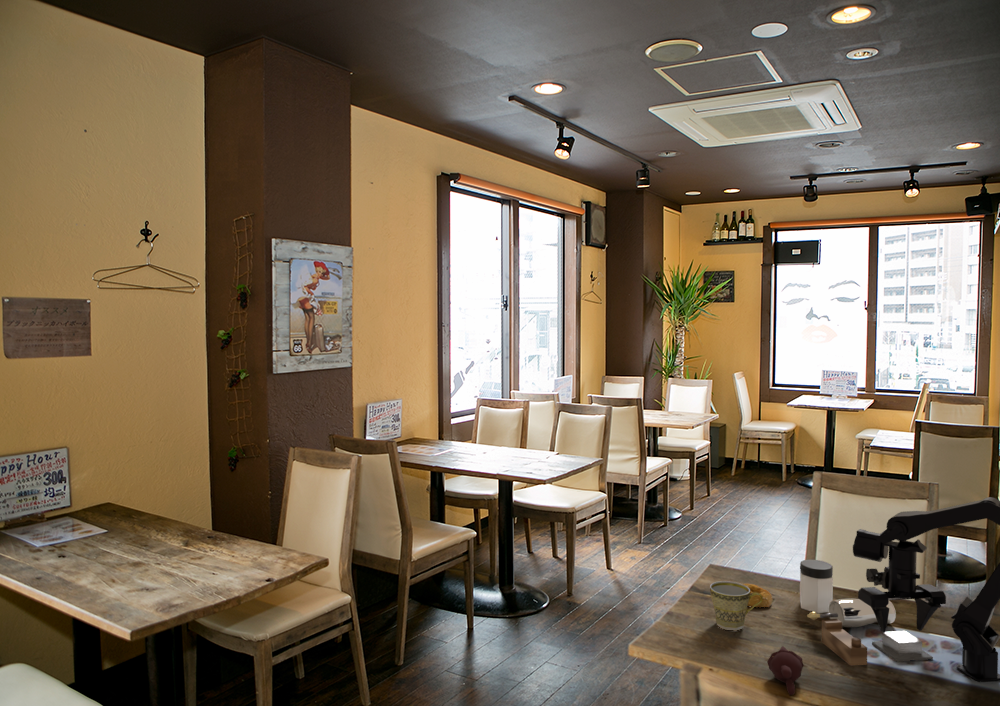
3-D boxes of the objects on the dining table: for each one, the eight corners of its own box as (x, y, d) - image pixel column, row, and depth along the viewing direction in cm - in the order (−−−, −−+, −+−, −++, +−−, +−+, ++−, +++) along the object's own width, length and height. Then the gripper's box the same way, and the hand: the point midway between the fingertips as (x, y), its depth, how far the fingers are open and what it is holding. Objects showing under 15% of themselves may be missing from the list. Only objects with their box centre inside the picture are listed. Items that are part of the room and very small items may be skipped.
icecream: (762, 634, 163) (766, 671, 149) (795, 631, 161) (802, 667, 147) (770, 663, 164) (774, 701, 149) (803, 659, 161) (811, 698, 147)
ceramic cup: (710, 632, 179) (710, 593, 179) (708, 616, 189) (708, 579, 188) (764, 637, 176) (765, 598, 176) (759, 620, 186) (760, 583, 185)
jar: (798, 599, 200) (799, 557, 199) (830, 602, 197) (830, 560, 196) (800, 611, 191) (801, 568, 191) (833, 615, 188) (834, 571, 188)
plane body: (867, 664, 162) (867, 640, 161) (850, 665, 161) (850, 641, 161) (837, 641, 173) (837, 618, 173) (821, 642, 173) (821, 619, 173)
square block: (922, 654, 165) (922, 641, 165) (898, 655, 164) (898, 643, 164) (904, 642, 171) (904, 630, 171) (882, 644, 170) (882, 631, 170)
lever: (838, 619, 173) (837, 610, 173) (822, 620, 172) (820, 611, 173) (820, 619, 181) (818, 611, 182) (804, 620, 181) (802, 611, 181)
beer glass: (900, 610, 179) (848, 613, 177) (891, 631, 182) (839, 634, 180) (883, 591, 186) (832, 593, 183) (874, 610, 188) (824, 613, 186)
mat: (932, 659, 164) (932, 656, 164) (896, 661, 163) (896, 659, 163) (906, 641, 173) (906, 639, 173) (872, 644, 172) (872, 641, 172)
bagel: (761, 613, 191) (761, 595, 191) (725, 601, 199) (725, 585, 199) (779, 603, 197) (779, 586, 197) (743, 593, 206) (743, 576, 205)
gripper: (915, 553, 176) (914, 615, 177) (845, 556, 174) (844, 618, 175) (948, 569, 165) (947, 634, 165) (873, 572, 163) (872, 638, 164)
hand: (901, 631), depth 168 cm, fingers open, 9 cm apart
